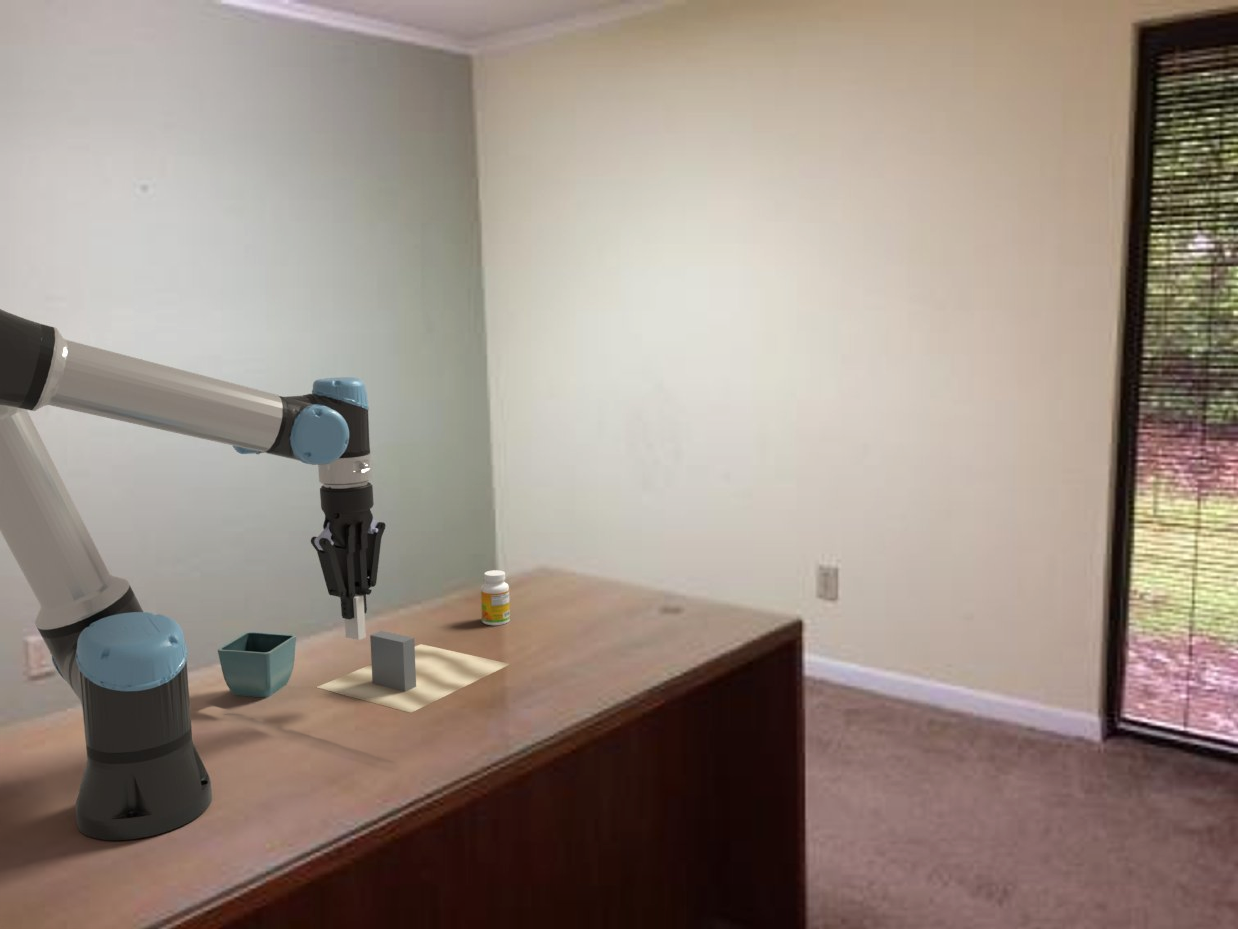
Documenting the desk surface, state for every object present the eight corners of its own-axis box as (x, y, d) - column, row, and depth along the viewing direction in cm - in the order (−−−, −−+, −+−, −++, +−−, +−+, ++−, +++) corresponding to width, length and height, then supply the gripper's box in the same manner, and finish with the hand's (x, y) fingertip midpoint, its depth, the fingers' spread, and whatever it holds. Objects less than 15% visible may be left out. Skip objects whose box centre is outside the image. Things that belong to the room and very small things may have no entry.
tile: (405, 691, 161) (403, 642, 160) (372, 683, 165) (370, 635, 163) (417, 685, 163) (415, 637, 162) (385, 677, 167) (383, 630, 166)
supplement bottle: (479, 619, 202) (478, 570, 200) (506, 616, 203) (505, 568, 202) (484, 627, 196) (483, 577, 195) (512, 624, 198) (511, 575, 197)
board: (410, 720, 153) (410, 712, 153) (316, 694, 163) (316, 687, 163) (510, 670, 173) (510, 664, 173) (420, 650, 184) (420, 644, 183)
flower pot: (272, 709, 158) (268, 652, 156) (219, 705, 160) (215, 649, 158) (300, 688, 166) (297, 634, 165) (250, 684, 168) (247, 631, 167)
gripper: (330, 493, 144) (341, 654, 148) (396, 478, 155) (404, 628, 159) (293, 488, 148) (304, 646, 152) (360, 474, 159) (369, 621, 163)
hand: (355, 637), depth 156 cm, fingers closed
